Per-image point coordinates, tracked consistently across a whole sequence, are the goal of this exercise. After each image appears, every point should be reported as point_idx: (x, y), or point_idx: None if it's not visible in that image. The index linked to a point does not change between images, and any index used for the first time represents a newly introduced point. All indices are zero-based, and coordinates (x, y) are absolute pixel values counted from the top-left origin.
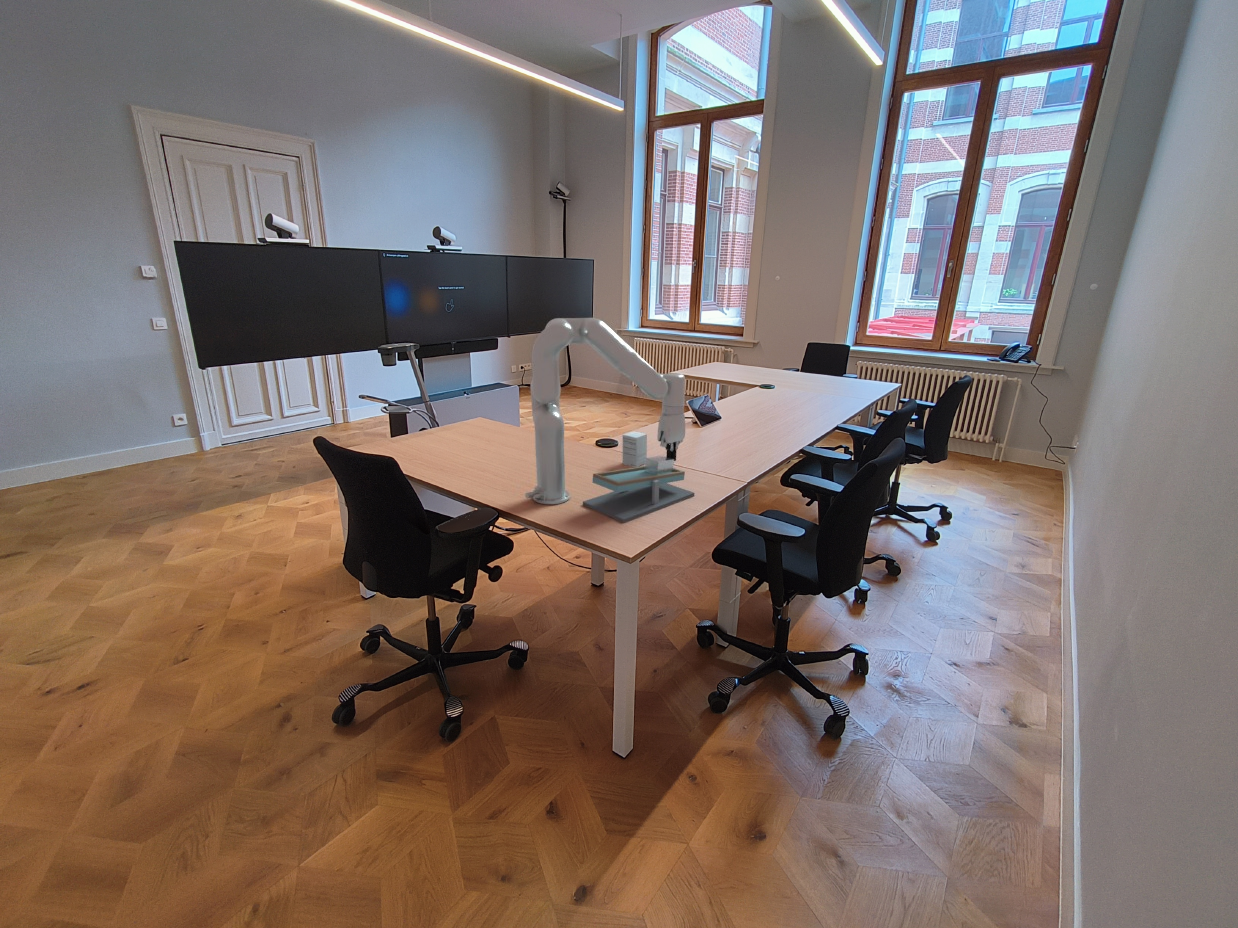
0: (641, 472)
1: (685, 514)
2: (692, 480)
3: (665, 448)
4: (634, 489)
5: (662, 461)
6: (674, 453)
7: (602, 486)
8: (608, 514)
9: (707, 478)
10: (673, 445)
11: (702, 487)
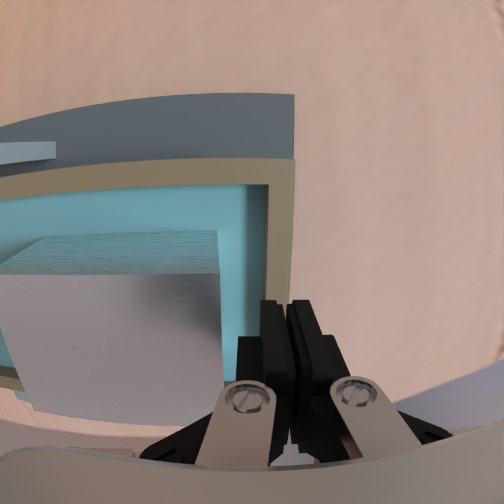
0: (20, 243)
1: (127, 424)
2: (439, 240)
3: (220, 395)
4: (88, 157)
5: (76, 414)
6: (290, 420)
7: None
8: None
9: (485, 269)
10: (346, 452)
11: (390, 327)
